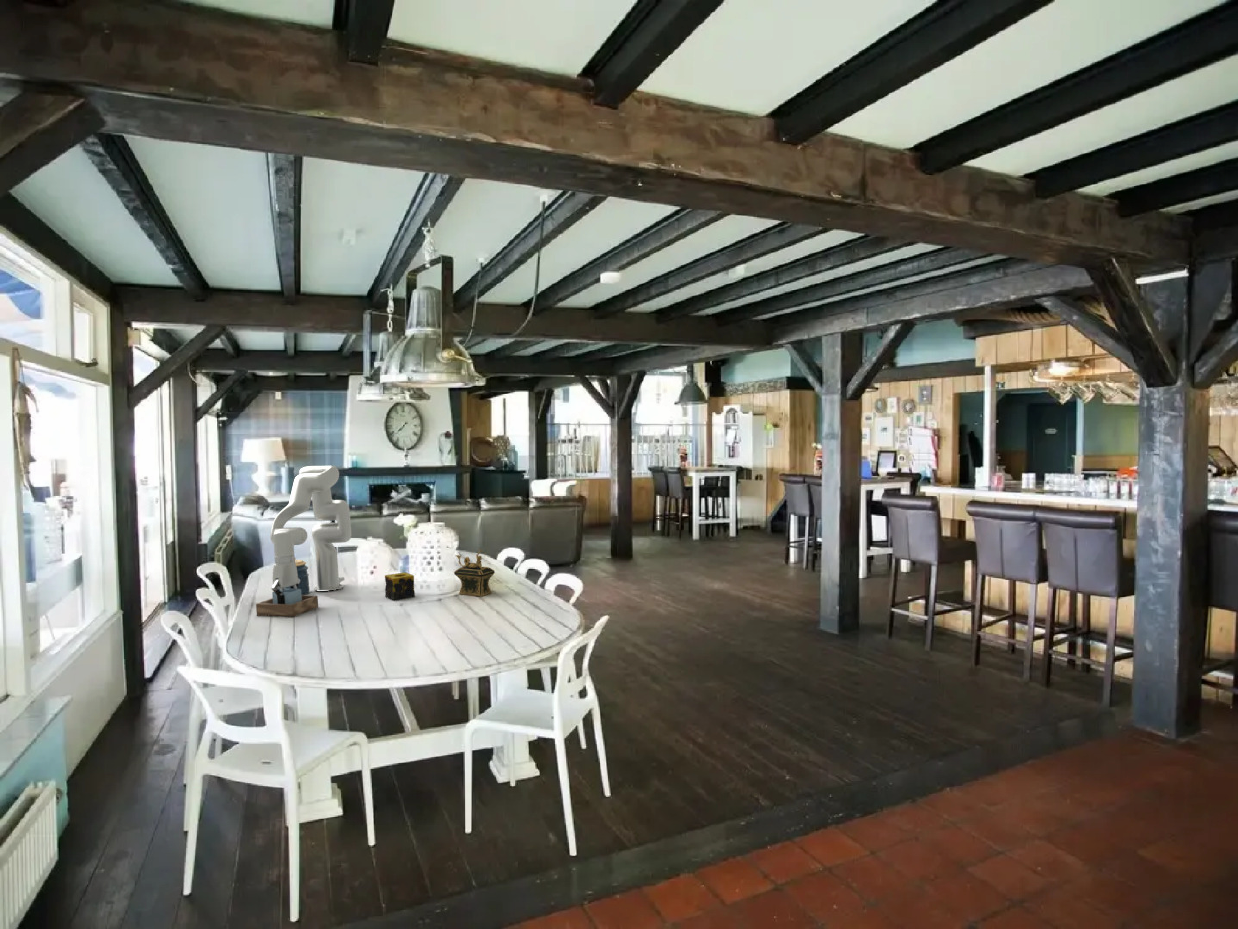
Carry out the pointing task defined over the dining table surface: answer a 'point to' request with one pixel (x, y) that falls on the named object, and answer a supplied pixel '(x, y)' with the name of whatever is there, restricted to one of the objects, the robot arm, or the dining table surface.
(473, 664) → the dining table surface
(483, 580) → the decorative box
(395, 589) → the black gold cube box
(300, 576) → the canister
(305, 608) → the walnut crate
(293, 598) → the blue crate
